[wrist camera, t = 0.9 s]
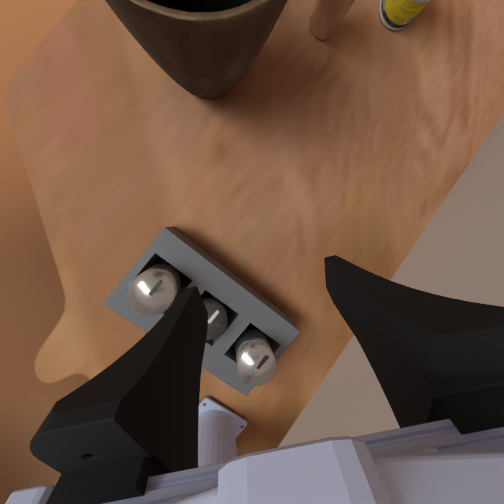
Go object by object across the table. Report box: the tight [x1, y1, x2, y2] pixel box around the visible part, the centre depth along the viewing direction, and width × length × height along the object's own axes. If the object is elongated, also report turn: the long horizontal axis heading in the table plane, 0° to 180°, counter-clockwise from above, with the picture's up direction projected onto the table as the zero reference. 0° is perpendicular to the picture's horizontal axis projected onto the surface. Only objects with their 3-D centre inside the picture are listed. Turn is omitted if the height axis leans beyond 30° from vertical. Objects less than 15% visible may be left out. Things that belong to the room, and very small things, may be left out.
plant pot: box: [105, 0, 287, 99], centre depth 18 cm, size 15×15×16 cm
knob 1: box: [126, 264, 181, 316], centre depth 24 cm, size 4×4×4 cm
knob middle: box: [201, 292, 227, 340], centre depth 28 cm, size 4×4×4 cm
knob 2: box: [235, 330, 277, 386], centre depth 26 cm, size 4×4×4 cm
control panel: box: [103, 227, 300, 396], centre depth 28 cm, size 11×21×4 cm, turn 50°
